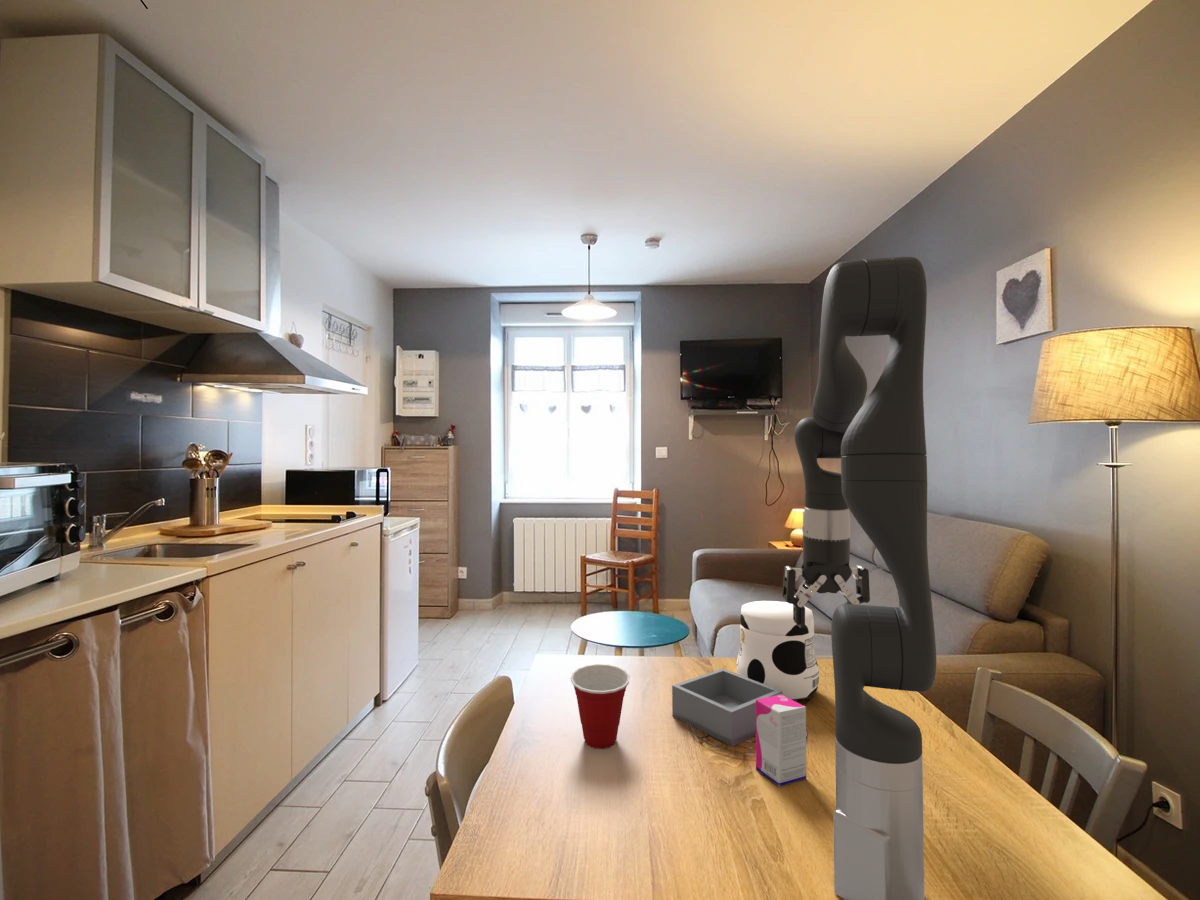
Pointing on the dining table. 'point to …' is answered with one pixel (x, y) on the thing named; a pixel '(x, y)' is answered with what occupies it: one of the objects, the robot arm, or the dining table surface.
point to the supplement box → (781, 739)
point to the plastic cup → (600, 702)
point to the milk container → (778, 649)
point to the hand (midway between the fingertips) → (825, 626)
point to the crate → (720, 704)
